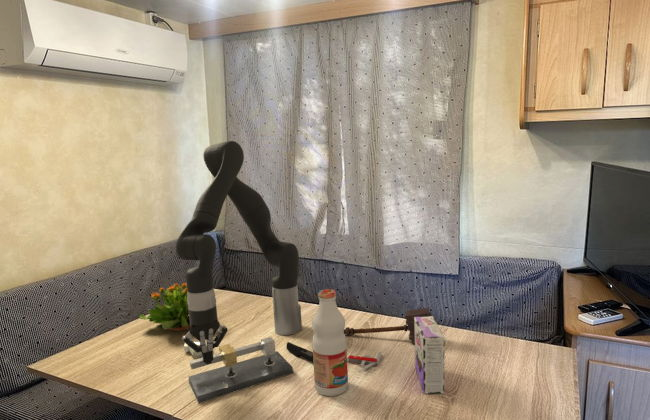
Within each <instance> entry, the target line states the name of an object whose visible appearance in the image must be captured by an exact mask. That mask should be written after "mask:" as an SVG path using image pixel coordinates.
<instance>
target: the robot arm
mask: <svg viewBox="0 0 650 420" xmlns="http://www.w3.org/2000/svg"><path fill="white" fill-rule="evenodd" d="M202 157H203V162H204V164H205V166H206V167H207V169H208V171H209V172H210V174H211V175H212V176H213V178H214V179H213V180H212V181H211V182H210V184H209V185H208V186H207V187H206V188H205V190H204V192H202V194H201V195H200V197H199V198H198V201H197V203H196V205H195V208H194V211H193V213H192V214H193V215H192V217H191V219H190V220H189V222H188V223H187V224H186V226H185V228H184V229H183V230H182V232H180V234H179V236H178V238H177V240H176V243H175V251H176V252H175V253H176V255H177V257H178V258H179V259H181V260H183V261H199V263H198V266H195V267H191V268H189V269H187V271H186V273H185V281H186V282H185V283H186V284H187V301H188V311H189V315H188V316H189V320H190V327H189V329H188V332H186V334H185V335H181V336H182V337H181V339H182V342H183V343H184V344H185V343H186V344H187V345H188V346H189V347H191V348H192V349H193V350H194V351H196V352H197V353H198V352H202V356H201V358H202V360H203V362H204V363H206V364H210V363H212V361H213V355H214V349H216V348H219V346H220V345H221V342H222V341H223V339H224V338H225V336H226V334H227V332H228V330H229V329H228V328H227V327H226V325H225V324H220V321H219V319H218V309H217V298H216V293H215V288H214V279H213V277H214V276H213V271H214V263H215V259H216V258H215V257H216V254H217V253H216V252H217V243H216V240H215V239H214V237H213V236H212V235H210V234H206V233H210V232H213V231H214V230H215V229H216V228H217V225H218V223H219V219H220V215H221V213H222V209H223V206H224V203H225V201H226V198H227V197H228V198H229V199H230V201H231V202H232V204H233V205H234V207H235V208H236V210H237V212H238V213H239V215H240V217H241V218H242V220H243V222H244V223H245V224H246V227H248V229H249V231H250V232H251V234H252V235H253V237H254V238H255V240H256V242H257V244H258V247H259V248H260V250H261V252H262V255H263V256H264V259H265V261H266V262H267V263H268V265H270V266H273V267H276V268H279V273H278V275H275V276H273V277H272V278H271V291H272V293H271V294H272V304H273V305H272V306H273V319H274V320H273V321H274V332H275V334H277V335H280V336H288V335H290V336H291V335H294V334H297V333H298V332H299V331H302V330H303V324H302V323H303V321H302V307H301V304H300V303H299V294H298V293H299V292H298V291H299V290H298V279H299V276H300V275H299V274H300V272H299V270H300V268H299V267H300V265H299V264H300V260H299V259H300V257H299V256H300V255H299V250H298V248H297V246H296V245H295V244H294V243H292V242H286V241H281V240H279V239H278V238H277V236H276V235H275V233H274V231H273V230H272V225H271V221H272V219H271V218H272V217H271V216H272V215H271V210H270V209H269V207H268V205H267V203H266V201H265V199H264V198H263V196H262V195H261V194H260V193H259V192H257V191H256V190H255V189H254V188H253V187H250V186H249V185H248V184H246V183H245V182H244V181H242V180H240V178H238V174H239V173H240V171H241V169H242V167H243V163H244V160H245V154H244V151H243V148H242V146H241V145H240V144H239V143H238V141H234V140H227V141H223V142H219V143H216V144H211V145H209V146H207V147H205V148H204V150H203V155H202ZM193 338H195V340H197V342H199V343H200V346H198V345H197V344H195V343H194V342H195V341H194V342H193ZM206 347H207V348H206ZM210 365H211V364H210Z"/></svg>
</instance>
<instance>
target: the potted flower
mask: <svg viewBox="0 0 650 420" xmlns="http://www.w3.org/2000/svg"><path fill="white" fill-rule="evenodd" d="M158 291H159V293H158V292H154V291H153V292H152V293H151V296H150V298H151V299H153V300H154V301H155V303H156V304H155V306H154V308H153V307H152V308H151V309H149V310H148V311H147V312H148V315H147V316H145V314H142V313H141V314H140V315H139V319H140V320H144V321H146V320H149V322H150V323H151V322H152V323H153V324H155V323H156V324H160V325H161V327H162V329H163V330H168V329H169V330H170V331H174V332H175V331H177V332H178V331H185V330H189V327H190V320H189V311H188V301H187V283H186V282H184V283H182V284H181V285H180V284H179V283H174V284H173V285H170V286H169V287H168V288H166V289H165V288H164V287H160V288H159V290H158ZM160 299H162V300H163V305H161V304H159V301H158V300H160Z"/></svg>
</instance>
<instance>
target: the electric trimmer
mask: <svg viewBox="0 0 650 420" xmlns="http://www.w3.org/2000/svg"><path fill="white" fill-rule="evenodd" d="M286 350H287V351H288V352H289V353H291V354H293V355H294V356H295V357H297V358H302V359H304V360H306V361H308V362H310V363H312V366H314V363H313V351H310V350H308V349H306V348H304V347H301V346H299V345H296V344H294V343H293V342H289V341H288V342H286Z"/></svg>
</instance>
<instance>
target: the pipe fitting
mask: <svg viewBox="0 0 650 420" xmlns="http://www.w3.org/2000/svg"><path fill="white" fill-rule="evenodd" d="M192 341H193V340H192ZM193 342H194V343H195V344H197V345H198V346H200V343H199V341H193ZM206 348H207V347H206ZM183 350H184V352H187V353H188V352H189V353H190V354H191V355H192V357H193V358H194V359H199V358H202V352H198V353H197V352H196V351H194V350H193V349H192V348H191V347H189V346H188V345H187V344H186V343H184V345H183Z"/></svg>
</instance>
